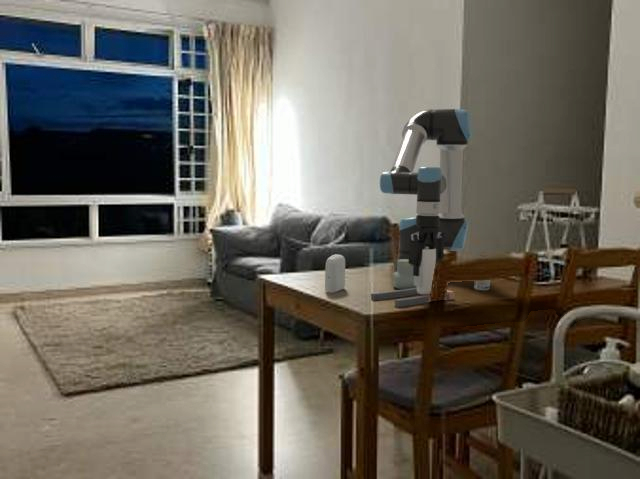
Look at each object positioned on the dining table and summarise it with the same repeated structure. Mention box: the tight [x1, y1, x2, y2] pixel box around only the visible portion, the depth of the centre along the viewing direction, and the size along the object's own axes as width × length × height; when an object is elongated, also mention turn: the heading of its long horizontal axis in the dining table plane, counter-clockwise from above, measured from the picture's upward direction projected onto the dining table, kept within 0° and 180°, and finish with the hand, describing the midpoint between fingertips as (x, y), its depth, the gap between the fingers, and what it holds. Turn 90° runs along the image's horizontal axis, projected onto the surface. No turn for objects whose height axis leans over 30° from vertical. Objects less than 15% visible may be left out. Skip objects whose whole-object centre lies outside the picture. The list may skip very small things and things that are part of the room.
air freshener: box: [391, 259, 417, 290], centre depth 229 cm, size 11×8×10 cm
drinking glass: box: [416, 247, 436, 295], centre depth 213 cm, size 7×7×15 cm
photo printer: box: [324, 254, 346, 294], centre depth 223 cm, size 10×4×12 cm, turn 156°
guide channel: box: [370, 287, 455, 308], centre depth 211 cm, size 24×13×2 cm, turn 125°
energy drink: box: [473, 254, 492, 292], centre depth 230 cm, size 5×5×12 cm
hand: (425, 284), depth 213 cm, fingers closed on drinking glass, 6 cm apart
